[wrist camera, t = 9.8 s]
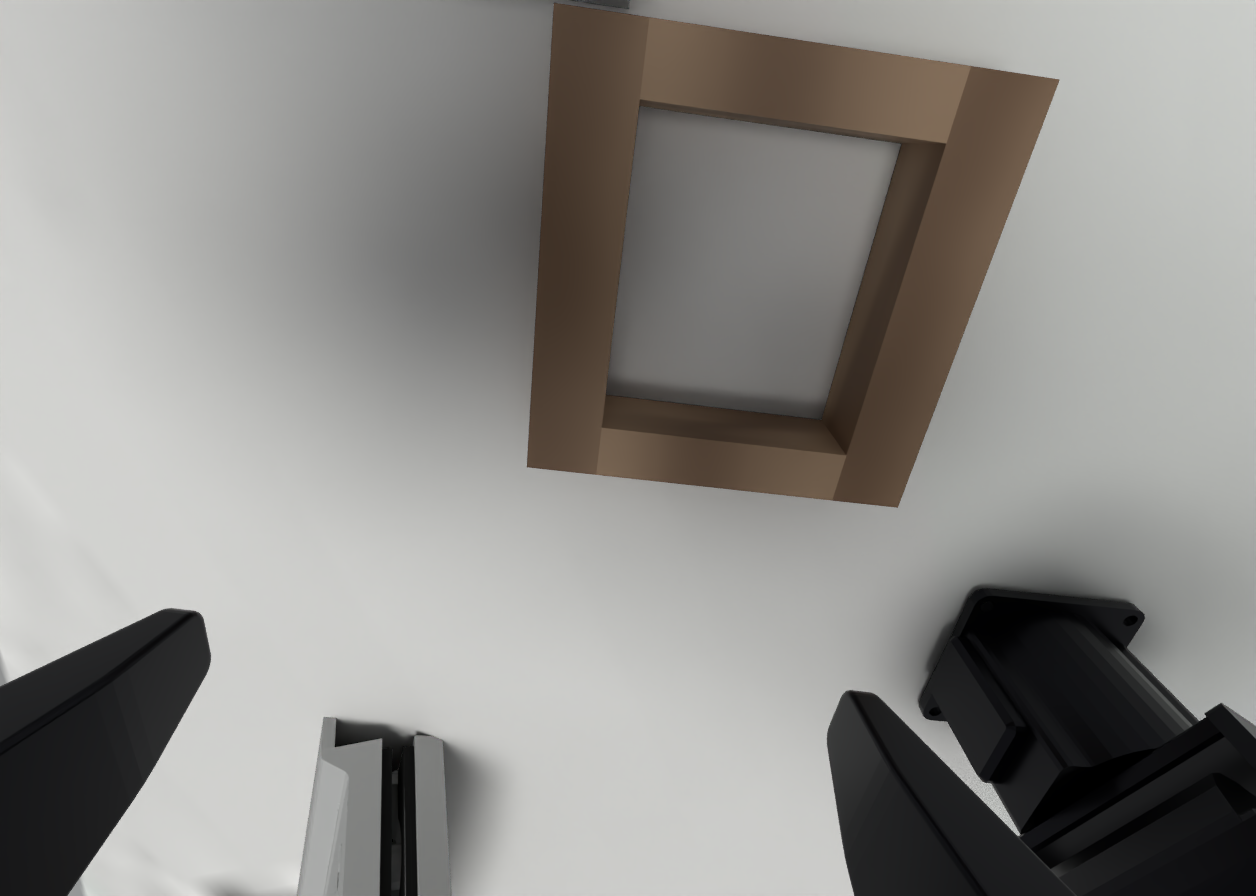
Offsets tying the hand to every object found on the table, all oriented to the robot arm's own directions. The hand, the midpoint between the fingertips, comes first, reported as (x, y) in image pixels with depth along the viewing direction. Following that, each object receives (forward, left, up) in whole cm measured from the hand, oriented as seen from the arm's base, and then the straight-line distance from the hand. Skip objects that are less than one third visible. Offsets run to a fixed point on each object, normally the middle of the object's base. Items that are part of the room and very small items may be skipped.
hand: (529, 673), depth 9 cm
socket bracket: (-4, -4, -12) cm, 13 cm away
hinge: (+7, +25, -12) cm, 28 cm away
